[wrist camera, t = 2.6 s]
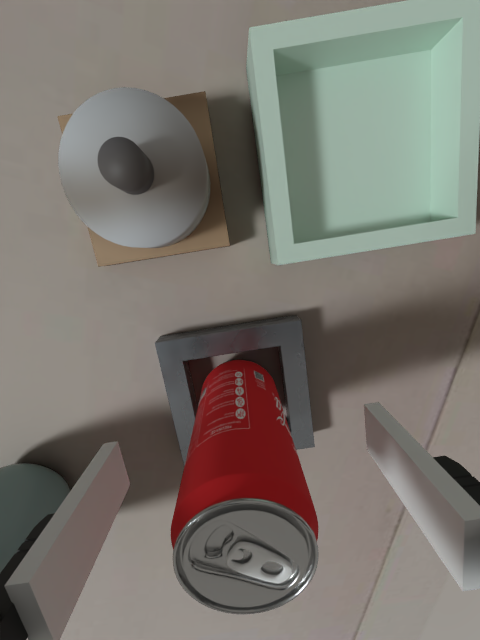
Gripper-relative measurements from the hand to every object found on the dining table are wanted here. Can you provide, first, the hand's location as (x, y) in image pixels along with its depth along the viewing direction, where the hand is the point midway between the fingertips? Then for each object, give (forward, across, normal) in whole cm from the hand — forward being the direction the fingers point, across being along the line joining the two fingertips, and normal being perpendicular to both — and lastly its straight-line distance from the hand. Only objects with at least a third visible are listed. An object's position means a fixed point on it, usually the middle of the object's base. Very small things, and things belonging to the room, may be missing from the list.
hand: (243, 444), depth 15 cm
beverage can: (+6, 0, 0) cm, 6 cm away
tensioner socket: (+6, 0, 0) cm, 6 cm away
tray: (+6, +9, +14) cm, 18 cm away
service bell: (+6, -3, +14) cm, 16 cm away
